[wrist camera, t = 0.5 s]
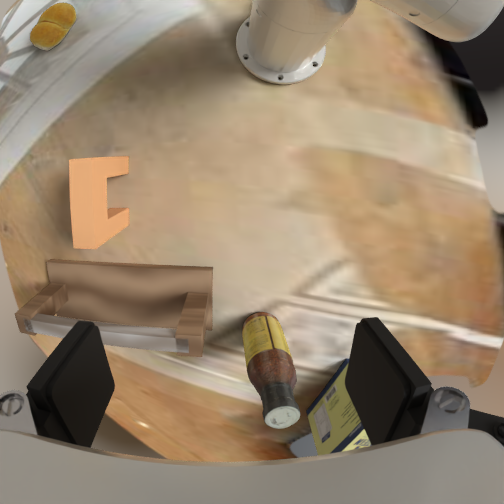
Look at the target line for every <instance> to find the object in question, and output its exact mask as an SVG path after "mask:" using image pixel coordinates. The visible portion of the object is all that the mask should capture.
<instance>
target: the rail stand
mask: <svg viewBox="0 0 504 504" xmlns="http://www.w3.org/2000/svg"><path fill="white" fill-rule="evenodd" d="M46 263H47V270H48V275H49V281H50V284H49V285H48V286H47V287H45V288H44V289H43V290H42V291H41V292H39V293H38V294H37V295H36V296H35V297H33V298H32V299H31V300H30V301H29V302H28V303H27V304H25V305H24V306H23V307H22V308H21V309H20V310H19V311H18V312H17V313H15V316H16V320H17V323H18V327H19V329H20V332H21V333H26V334H30V335H36V334H37V333H39V334H44V335H49V336H54V337H60V338H64V337H65V336H66V335H67V333H68V332H69V331H70V330H71V329H72V327H73V326H74V325H75V324H76V323H77V322H78V321H87V320H90V322H93V323H94V324H95V326H98V328H99V330H100V334H101V338H102V342H103V344H104V345H111V346H119V347H128V348H137V349H146V350H157V351H169V352H177V355H179V356H194V357H202V353H203V346H204V338H205V331H206V330H212V278H213V267H196V266H172V265H149V264H128V263H108V262H89V261H71V260H55V259H50V260H49V261H47V262H46ZM55 314H57V316H54V315H55ZM58 316H61V317H58ZM65 317H67V318H65ZM72 318H75V319H72ZM79 319H82V320H79ZM95 321H98V322H95ZM103 322H107V323H103ZM112 323H116V324H112ZM122 324H126V325H122ZM132 325H136V326H132ZM143 326H147V327H143ZM155 327H160V328H155ZM168 328H174V329H168Z"/></svg>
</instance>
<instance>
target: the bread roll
mask: <svg viewBox="0 0 504 504" xmlns="http://www.w3.org/2000/svg"><path fill="white" fill-rule="evenodd" d="M75 21H76V12H75V9H74V7H73V6H72V5H70V4H68V3H57V4H55V5H53V6H51V7H50V8H48V9H47V10H46V11H45V12H44V13H43V14H42V15H41V17H40V19H39V21H38V23H37V25H36V26H35V27H34V28H33V29H32V31H31V33H30V40H31V42H32V43H33V45H34V46H35V47H37V48H39V49H42V50H46V51H48V50H50V49H52V48H53V47H55V46H56V45H58V44H59V43H60V42H61V41H62V40H63V39H64V37H65V36H66V34H67V33H68V31H69V30H70V29H71V27H72V26H73V24H74V23H75Z"/></svg>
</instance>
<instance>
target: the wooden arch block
mask: <svg viewBox="0 0 504 504" xmlns="http://www.w3.org/2000/svg"><path fill="white" fill-rule="evenodd" d="M124 174H129V156H120V157H95V158H81V159H70V160H69V183H70V209H71V223H72V235H73V245H74V248H79V249H97V248H98V247H99V246H101V245H102V244H103V243H105V242H106V241H108V240H109V239H110V238H112V237H113V236H114V235H116V234H117V233H119V232H120V231H121V230H123V229H124V228H126V227H127V226H129V208H110V209H107V178H109V177H114V176H119V175H124Z"/></svg>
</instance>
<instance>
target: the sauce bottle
mask: <svg viewBox="0 0 504 504" xmlns="http://www.w3.org/2000/svg"><path fill="white" fill-rule="evenodd" d="M242 331H243V332H242V336H243V344H244V351H245V359H246V367H247V373H248V377H249V379H250V381H251V383H252V384H253V385H254V387H255V389H256V390H257V392H258V393H259V395H260V396H261V400H262V403H263V408H264V409H263V418H264V421H265V423H266V424H267V425H268V426H270V427H272V428H277V429H281V428H286V427H289V426H291V425H293V424H294V423H296V422H297V421H298V419H299V418H300V410H299V406H298V404H297V403H296V402H295V399H294V396H293V388H294V386H295V385H296V381H297V379H296V370H295V368H294V365H293V360H292V357H291V354H290V351H289V348H288V345H287V342H286V339H285V336H284V333H283V330H282V327H281V325H280V323H279V322H278V320H277V318H276V317H274V316H273V315H271V314H269V313H265V312H259V313H255V314H253V315H251V316H249V317H248V318H247V319H246V321H245V322H244V325H243V328H242Z"/></svg>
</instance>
